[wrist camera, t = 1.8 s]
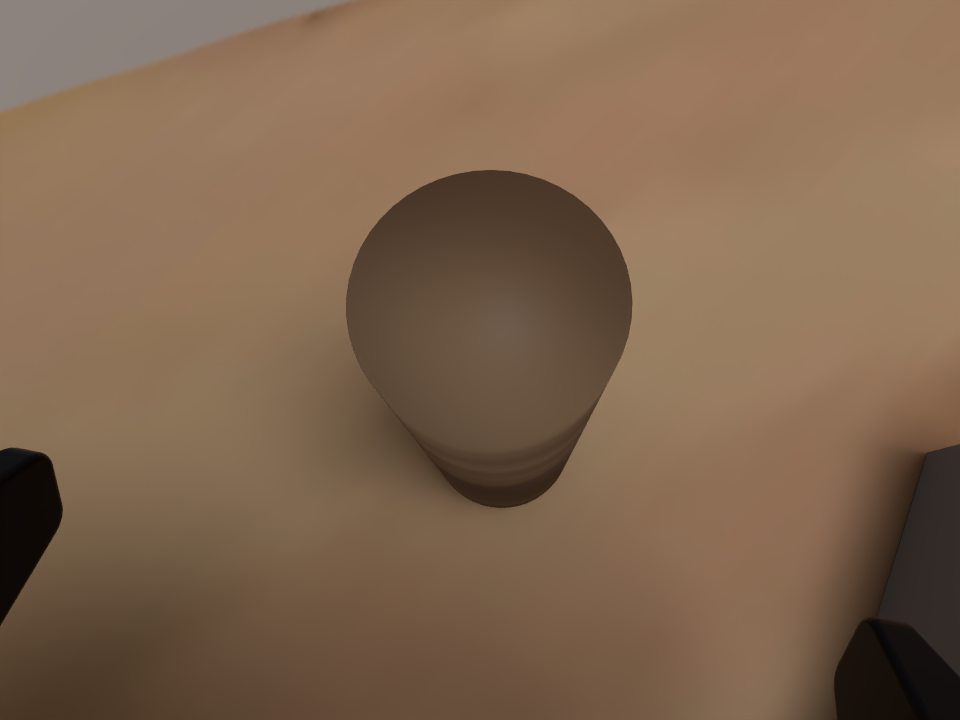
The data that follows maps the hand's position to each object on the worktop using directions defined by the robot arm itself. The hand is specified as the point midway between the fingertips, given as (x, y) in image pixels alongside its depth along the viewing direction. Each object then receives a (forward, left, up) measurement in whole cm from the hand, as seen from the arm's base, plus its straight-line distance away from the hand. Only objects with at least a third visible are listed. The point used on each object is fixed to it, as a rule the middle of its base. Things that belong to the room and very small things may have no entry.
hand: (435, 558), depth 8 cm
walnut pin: (+3, +1, -11) cm, 12 cm away
